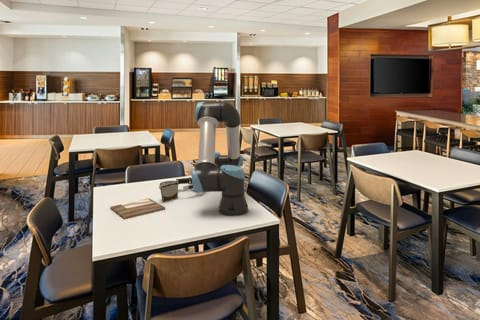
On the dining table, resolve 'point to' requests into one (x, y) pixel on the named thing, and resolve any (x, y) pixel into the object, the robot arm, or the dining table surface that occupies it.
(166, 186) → the food container
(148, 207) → the board
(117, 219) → the dining table surface
